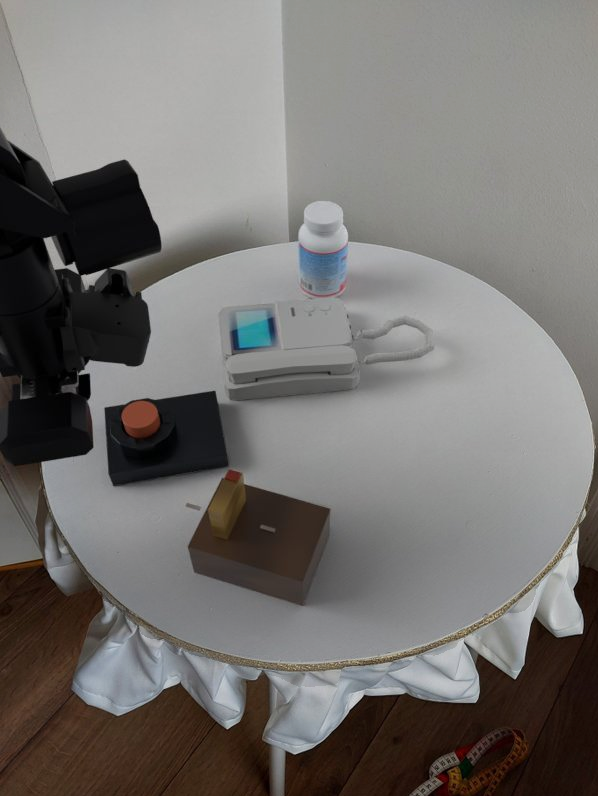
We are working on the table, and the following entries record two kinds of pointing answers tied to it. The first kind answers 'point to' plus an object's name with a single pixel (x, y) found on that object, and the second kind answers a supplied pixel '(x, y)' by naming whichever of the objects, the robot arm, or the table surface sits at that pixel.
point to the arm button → (141, 419)
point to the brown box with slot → (265, 545)
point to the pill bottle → (322, 251)
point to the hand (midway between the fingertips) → (73, 425)
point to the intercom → (298, 348)
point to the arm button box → (167, 440)
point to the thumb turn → (227, 504)
